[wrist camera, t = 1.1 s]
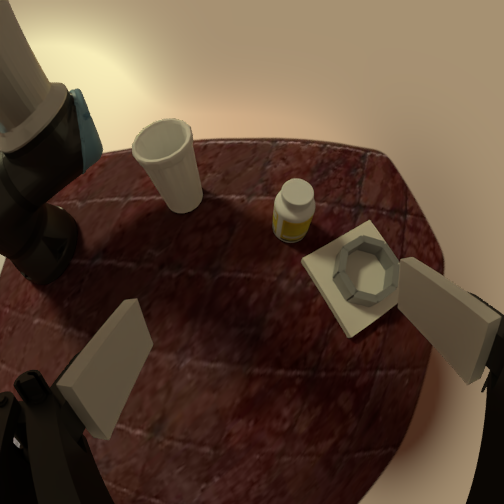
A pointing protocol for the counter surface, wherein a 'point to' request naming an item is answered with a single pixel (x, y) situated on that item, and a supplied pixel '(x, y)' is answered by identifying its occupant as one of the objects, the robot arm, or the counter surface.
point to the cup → (170, 162)
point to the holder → (356, 277)
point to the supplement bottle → (293, 210)
